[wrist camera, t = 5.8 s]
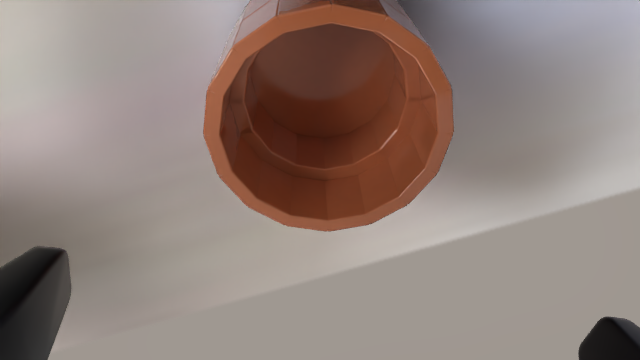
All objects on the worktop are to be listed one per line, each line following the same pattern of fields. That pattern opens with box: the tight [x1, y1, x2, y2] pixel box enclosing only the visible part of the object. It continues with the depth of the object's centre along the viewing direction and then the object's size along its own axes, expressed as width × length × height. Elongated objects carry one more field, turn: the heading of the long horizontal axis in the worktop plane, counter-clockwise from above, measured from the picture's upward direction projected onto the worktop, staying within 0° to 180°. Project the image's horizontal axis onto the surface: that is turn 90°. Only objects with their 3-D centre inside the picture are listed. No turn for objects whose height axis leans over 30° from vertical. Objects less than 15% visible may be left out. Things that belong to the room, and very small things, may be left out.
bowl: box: [203, 0, 454, 231], centre depth 15 cm, size 7×7×5 cm
